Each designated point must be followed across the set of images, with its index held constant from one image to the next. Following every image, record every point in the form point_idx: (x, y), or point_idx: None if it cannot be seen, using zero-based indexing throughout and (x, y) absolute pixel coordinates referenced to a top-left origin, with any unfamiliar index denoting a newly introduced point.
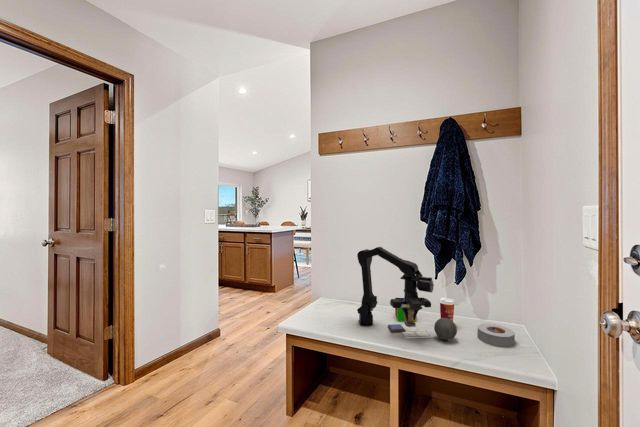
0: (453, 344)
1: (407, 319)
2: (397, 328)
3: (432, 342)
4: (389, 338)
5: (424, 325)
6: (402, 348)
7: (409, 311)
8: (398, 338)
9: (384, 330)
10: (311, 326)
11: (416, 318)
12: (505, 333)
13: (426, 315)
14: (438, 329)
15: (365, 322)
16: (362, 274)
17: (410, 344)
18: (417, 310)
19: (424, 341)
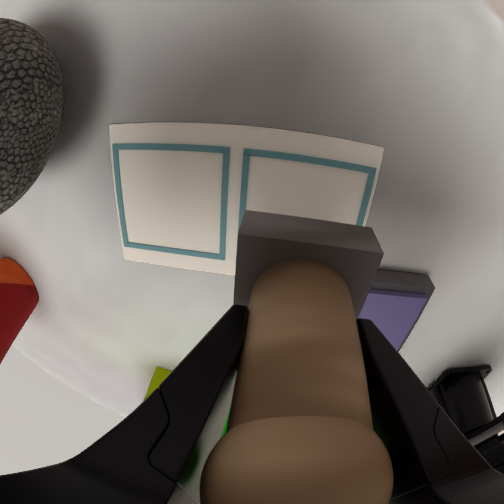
0: (28, 24)
1: (365, 330)
2: (377, 305)
3: (149, 27)
4: (496, 192)
5: (118, 323)
6: (483, 4)
7: (377, 489)
8: (442, 168)
9: (440, 315)
10: None
11: (150, 384)
12: None
13: (99, 388)
14: (9, 53)
15: (477, 382)
16: None
17: (397, 22)
18: (101, 479)
19: (217, 46)
